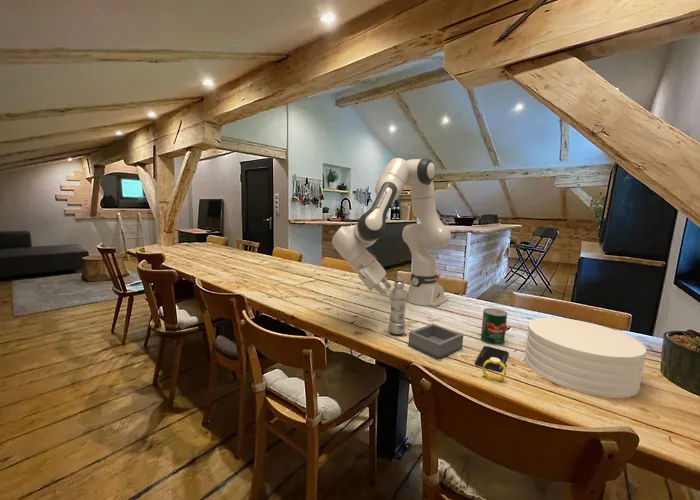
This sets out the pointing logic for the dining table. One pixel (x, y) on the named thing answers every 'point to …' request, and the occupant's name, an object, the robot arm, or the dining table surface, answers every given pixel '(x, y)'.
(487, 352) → the phone
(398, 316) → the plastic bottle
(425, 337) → the tray
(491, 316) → the canned tomato
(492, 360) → the watch
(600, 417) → the dining table surface
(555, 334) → the plate stack
